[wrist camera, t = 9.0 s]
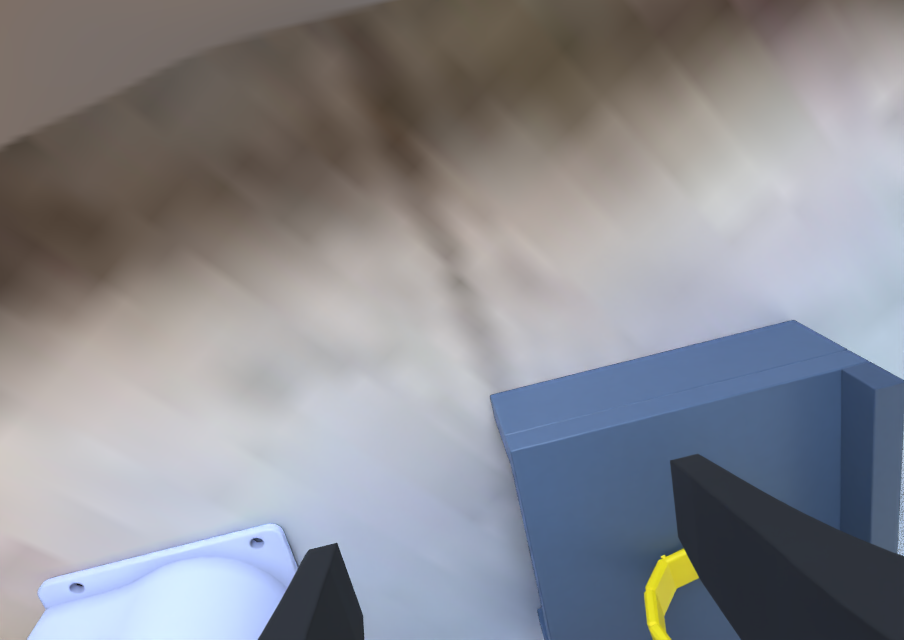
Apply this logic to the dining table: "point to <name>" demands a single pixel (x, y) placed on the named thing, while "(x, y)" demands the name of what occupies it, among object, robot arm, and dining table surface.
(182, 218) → the dining table surface
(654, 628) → the watch
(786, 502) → the blue stand
